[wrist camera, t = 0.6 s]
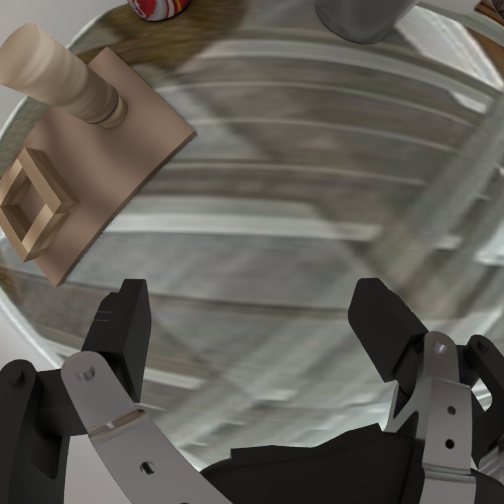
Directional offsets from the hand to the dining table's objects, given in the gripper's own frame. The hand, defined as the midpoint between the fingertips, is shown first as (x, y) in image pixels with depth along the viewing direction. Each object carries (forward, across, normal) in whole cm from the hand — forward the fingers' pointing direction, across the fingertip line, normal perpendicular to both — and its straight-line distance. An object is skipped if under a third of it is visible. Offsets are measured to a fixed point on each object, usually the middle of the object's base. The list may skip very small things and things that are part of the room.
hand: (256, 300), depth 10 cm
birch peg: (+21, +12, -7) cm, 25 cm away
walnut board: (+22, +17, -2) cm, 27 cm away
